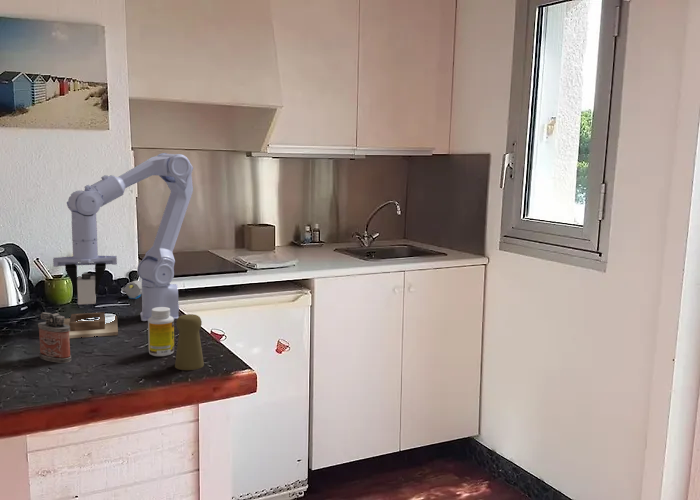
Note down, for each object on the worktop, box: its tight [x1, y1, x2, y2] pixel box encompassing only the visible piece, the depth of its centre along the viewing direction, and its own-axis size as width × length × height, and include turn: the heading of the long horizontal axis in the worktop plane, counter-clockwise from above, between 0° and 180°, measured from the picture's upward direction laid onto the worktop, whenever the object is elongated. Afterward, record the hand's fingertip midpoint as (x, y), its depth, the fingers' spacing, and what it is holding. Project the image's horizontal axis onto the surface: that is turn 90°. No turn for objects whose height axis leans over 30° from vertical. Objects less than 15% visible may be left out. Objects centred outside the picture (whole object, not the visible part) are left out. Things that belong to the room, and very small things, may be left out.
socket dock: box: [64, 311, 119, 339], centre depth 167 cm, size 14×16×3 cm
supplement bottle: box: [147, 307, 175, 357], centre depth 149 cm, size 6×6×10 cm
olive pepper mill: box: [174, 313, 205, 371], centre depth 141 cm, size 6×6×11 cm
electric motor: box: [121, 280, 142, 300], centre depth 200 cm, size 7×5×5 cm
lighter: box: [37, 311, 72, 364], centre depth 143 cm, size 8×3×10 cm, turn 65°
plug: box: [77, 273, 97, 306], centre depth 166 cm, size 4×5×7 cm
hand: (86, 293), depth 166 cm, fingers closed on plug, 4 cm apart
